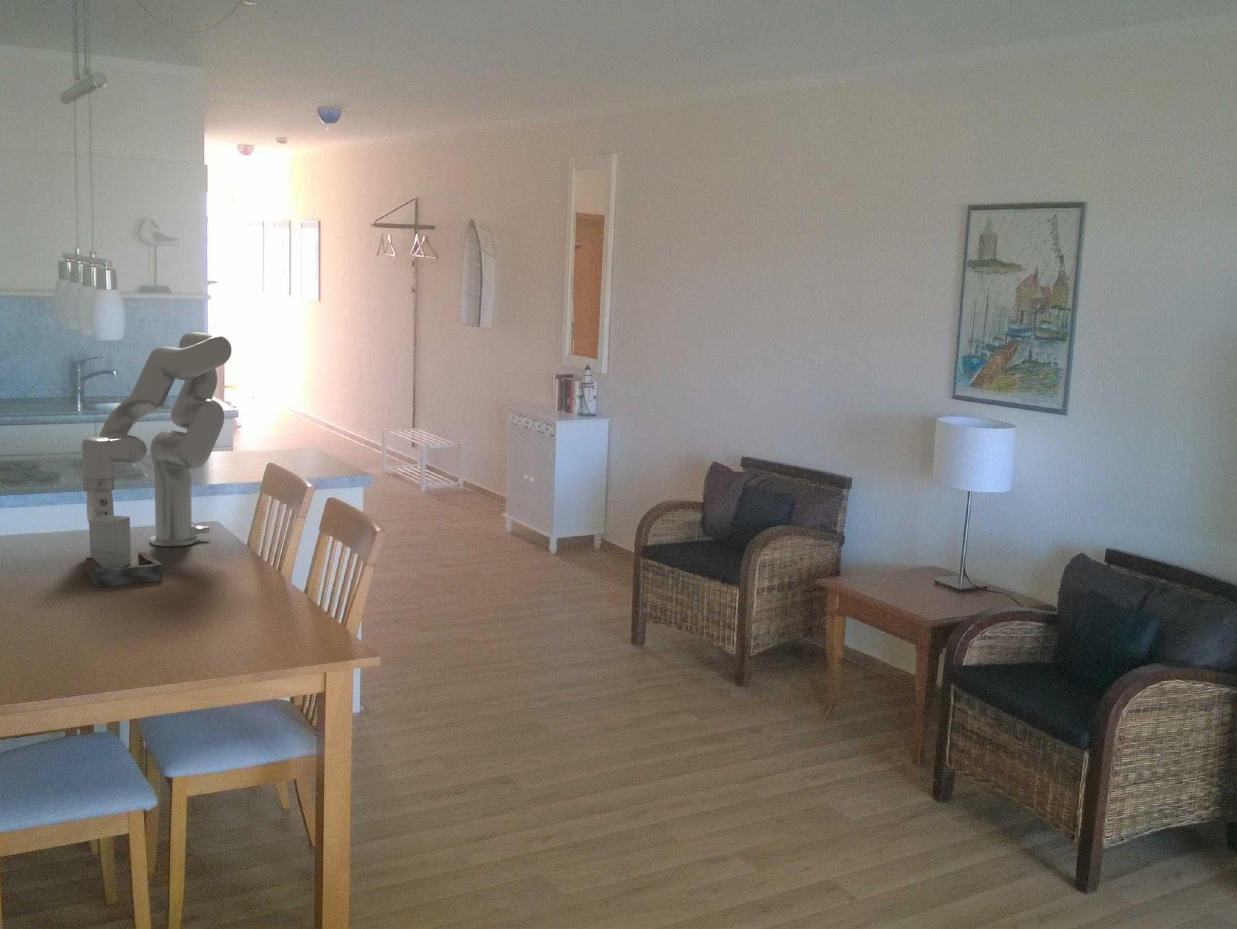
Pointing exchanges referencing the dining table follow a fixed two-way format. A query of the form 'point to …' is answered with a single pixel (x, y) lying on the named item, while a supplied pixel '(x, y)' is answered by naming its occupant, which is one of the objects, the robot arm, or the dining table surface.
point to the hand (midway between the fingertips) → (100, 551)
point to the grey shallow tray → (125, 572)
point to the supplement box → (110, 541)
